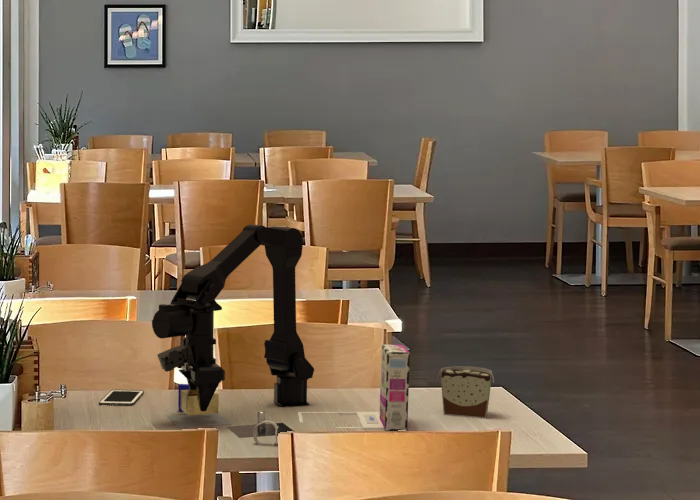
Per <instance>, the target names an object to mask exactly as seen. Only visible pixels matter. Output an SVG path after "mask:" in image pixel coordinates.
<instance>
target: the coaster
mask: <svg viewBox="0 0 700 500" xmlns="http://www.w3.org/2000/svg"><path fill="white" fill-rule="evenodd" d="M167 418H168V419H169V420H170V421H171V422H172V423H173V424H174V425H175V426H176V427H177V428H178V429H186V428H200V427H202V428H203V427H214V426H215V427H217V426H233V425H232V424H233V423H231V422H230V421H229V420H227V418H226V417H224V416H223V415H222V414H221V413H219V414H204V415H187V414H174V415H167Z"/></svg>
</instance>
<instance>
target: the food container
mask: <svg viewBox="0 0 700 500" xmlns="http://www.w3.org/2000/svg"><path fill="white" fill-rule="evenodd" d="M437 375H438V376H437V379H440V384H441V385H440V386H441V399H442V411H443V416H452V417H453V416H454V417H464V418H477V419H487V418H488V417H487V416H488V409H489V403H490V394H491V393H490V392H491V385H492V383H495V378H494V374H493V371H492V370H491V369H488V368H486V367H479V366H478V367H477V366H468V365H467V366H463V365H461V366H460V365H459V366H457V365H455V366H446V367H445V366H444V367H442V368H440V371H438V374H437Z"/></svg>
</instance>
